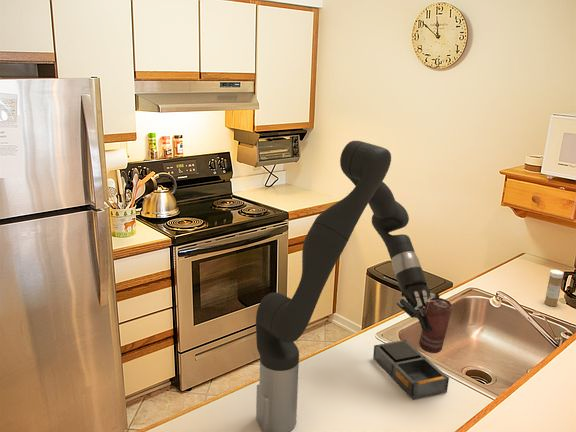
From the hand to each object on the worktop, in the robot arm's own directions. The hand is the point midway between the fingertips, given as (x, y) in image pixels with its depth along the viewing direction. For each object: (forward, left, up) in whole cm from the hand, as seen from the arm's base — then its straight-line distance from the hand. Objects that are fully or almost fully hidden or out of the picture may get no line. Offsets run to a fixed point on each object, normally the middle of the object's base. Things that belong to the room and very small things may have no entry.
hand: (429, 331), depth 135 cm
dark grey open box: (0, +7, -18) cm, 19 cm away
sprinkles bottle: (+80, +31, -18) cm, 87 cm away
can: (+2, +2, -7) cm, 7 cm away
